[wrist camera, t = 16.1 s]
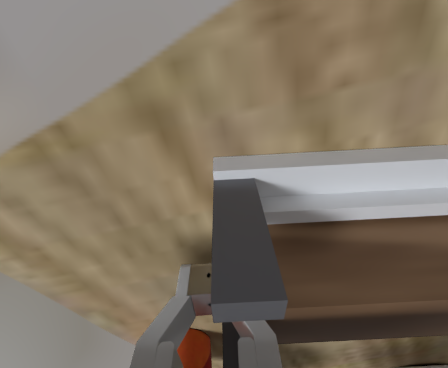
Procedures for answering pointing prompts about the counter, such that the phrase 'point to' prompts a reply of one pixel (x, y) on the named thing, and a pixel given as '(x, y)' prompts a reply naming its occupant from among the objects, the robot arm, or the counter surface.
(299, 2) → the counter surface
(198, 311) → the robot arm
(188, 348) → the coffee cup
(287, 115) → the counter surface
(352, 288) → the slat
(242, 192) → the endcap frame
